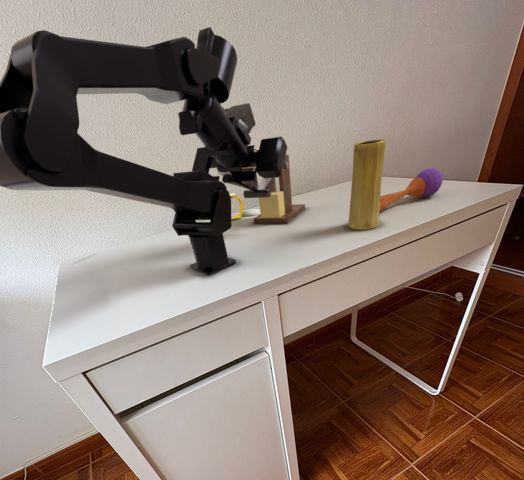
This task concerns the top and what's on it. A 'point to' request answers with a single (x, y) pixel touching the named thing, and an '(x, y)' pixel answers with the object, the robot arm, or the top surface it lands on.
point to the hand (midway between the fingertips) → (256, 188)
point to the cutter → (285, 186)
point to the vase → (366, 184)
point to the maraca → (416, 187)
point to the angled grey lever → (259, 190)
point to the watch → (240, 206)
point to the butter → (272, 205)
